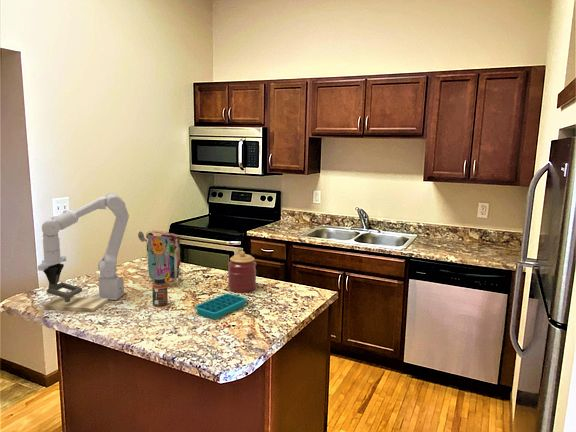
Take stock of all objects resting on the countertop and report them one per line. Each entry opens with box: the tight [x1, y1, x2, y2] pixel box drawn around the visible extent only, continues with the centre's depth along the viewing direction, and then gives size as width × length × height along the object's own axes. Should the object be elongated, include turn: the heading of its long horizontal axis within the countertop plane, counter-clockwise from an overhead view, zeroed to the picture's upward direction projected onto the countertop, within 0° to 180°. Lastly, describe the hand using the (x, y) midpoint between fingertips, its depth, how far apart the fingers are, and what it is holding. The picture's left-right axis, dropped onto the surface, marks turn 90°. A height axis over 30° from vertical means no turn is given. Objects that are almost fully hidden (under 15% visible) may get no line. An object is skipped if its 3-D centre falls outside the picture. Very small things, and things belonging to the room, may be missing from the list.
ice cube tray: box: [194, 293, 248, 320], centre depth 169 cm, size 12×20×3 cm, turn 147°
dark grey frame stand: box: [46, 274, 83, 299], centre depth 168 cm, size 11×9×6 cm
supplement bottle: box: [151, 277, 169, 307], centre depth 172 cm, size 6×6×11 cm
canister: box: [227, 250, 257, 293], centre depth 193 cm, size 13×13×18 cm
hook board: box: [44, 291, 109, 313], centre depth 169 cm, size 20×11×5 cm, turn 84°
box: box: [137, 230, 184, 288], centre depth 198 cm, size 25×6×24 cm, turn 62°
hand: (54, 283), depth 169 cm, fingers closed on dark grey frame stand
